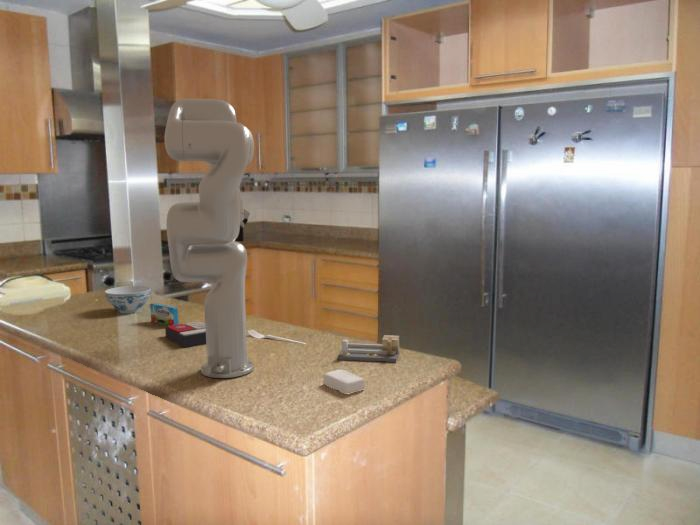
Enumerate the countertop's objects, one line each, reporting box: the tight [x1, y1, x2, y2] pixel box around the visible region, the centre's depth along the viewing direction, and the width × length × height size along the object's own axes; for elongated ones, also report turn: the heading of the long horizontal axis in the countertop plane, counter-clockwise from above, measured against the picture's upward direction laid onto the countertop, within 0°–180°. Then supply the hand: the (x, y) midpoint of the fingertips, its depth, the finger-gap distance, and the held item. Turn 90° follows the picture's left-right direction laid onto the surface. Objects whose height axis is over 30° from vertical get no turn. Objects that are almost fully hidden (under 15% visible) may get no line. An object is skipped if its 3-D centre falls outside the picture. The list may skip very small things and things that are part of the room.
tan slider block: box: [381, 334, 400, 355], centre depth 151 cm, size 7×4×4 cm, turn 170°
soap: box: [322, 368, 366, 393], centre depth 130 cm, size 9×6×3 cm, turn 38°
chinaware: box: [104, 285, 152, 314], centre depth 205 cm, size 15×15×8 cm
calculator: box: [164, 320, 206, 349], centre depth 170 cm, size 11×4×15 cm
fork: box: [246, 328, 307, 345], centre depth 168 cm, size 3×20×2 cm, turn 61°
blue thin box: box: [149, 302, 179, 326], centre depth 187 cm, size 12×2×6 cm, turn 54°
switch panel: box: [337, 339, 400, 363], centre depth 152 cm, size 9×15×4 cm, turn 80°
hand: (226, 242), depth 169 cm, fingers open, 9 cm apart
